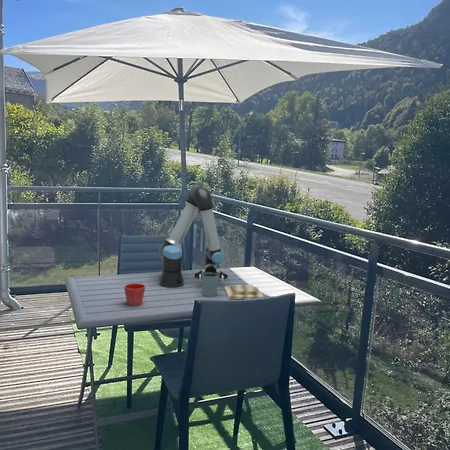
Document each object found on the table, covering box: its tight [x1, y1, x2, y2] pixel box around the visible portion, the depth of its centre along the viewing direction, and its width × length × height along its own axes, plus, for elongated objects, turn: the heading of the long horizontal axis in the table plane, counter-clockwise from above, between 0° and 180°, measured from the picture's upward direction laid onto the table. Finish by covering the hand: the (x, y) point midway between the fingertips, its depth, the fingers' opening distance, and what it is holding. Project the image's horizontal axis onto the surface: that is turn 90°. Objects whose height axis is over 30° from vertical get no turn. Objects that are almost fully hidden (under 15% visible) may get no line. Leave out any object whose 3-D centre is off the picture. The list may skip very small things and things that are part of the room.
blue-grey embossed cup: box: [201, 273, 220, 298], centre depth 262 cm, size 10×10×12 cm
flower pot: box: [124, 283, 146, 307], centre depth 239 cm, size 11×11×10 cm
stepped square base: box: [223, 284, 264, 301], centre depth 265 cm, size 20×20×4 cm
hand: (211, 279), depth 269 cm, fingers open, 13 cm apart
